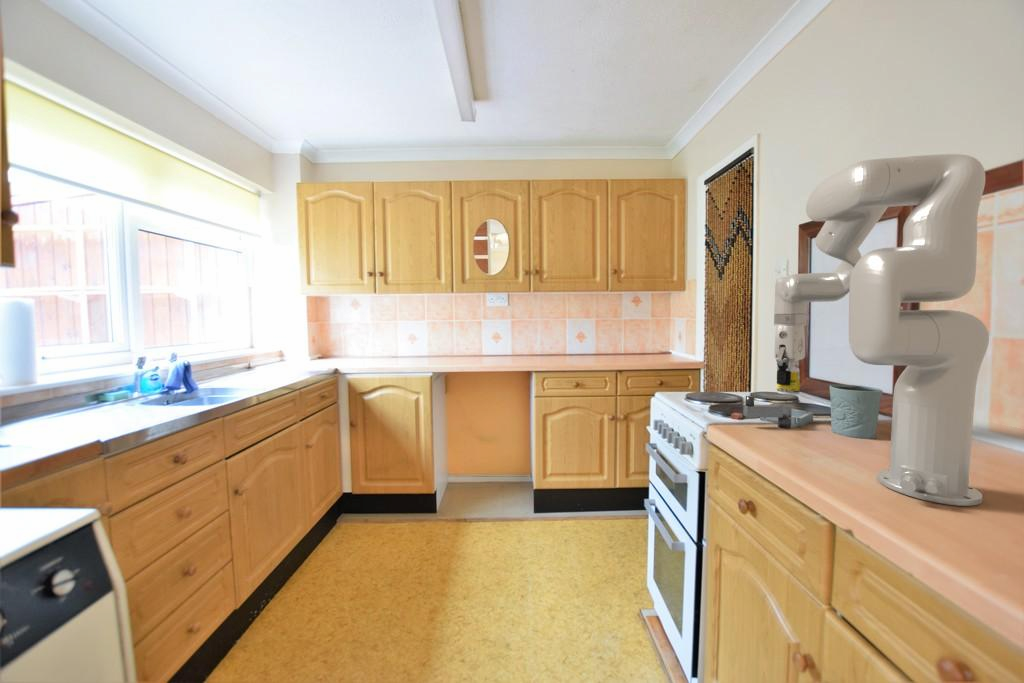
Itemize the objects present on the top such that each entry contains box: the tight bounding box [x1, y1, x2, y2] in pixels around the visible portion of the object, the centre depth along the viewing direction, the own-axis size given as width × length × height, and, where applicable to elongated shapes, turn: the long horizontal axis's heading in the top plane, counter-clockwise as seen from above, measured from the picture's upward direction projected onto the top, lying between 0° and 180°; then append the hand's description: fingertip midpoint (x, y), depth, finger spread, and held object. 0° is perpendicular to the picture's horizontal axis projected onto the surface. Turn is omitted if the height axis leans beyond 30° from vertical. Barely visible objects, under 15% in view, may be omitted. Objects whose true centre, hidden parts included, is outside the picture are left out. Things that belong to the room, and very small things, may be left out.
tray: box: [759, 408, 814, 428], centre depth 112 cm, size 10×10×2 cm
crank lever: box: [742, 395, 793, 418], centre depth 106 cm, size 12×3×6 cm, turn 86°
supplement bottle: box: [776, 358, 801, 396], centre depth 111 cm, size 5×5×10 cm
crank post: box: [730, 412, 792, 430], centre depth 110 cm, size 3×15×3 cm, turn 37°
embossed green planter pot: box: [829, 384, 883, 440], centre depth 99 cm, size 10×10×12 cm
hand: (787, 382), depth 111 cm, fingers closed on supplement bottle, 5 cm apart
